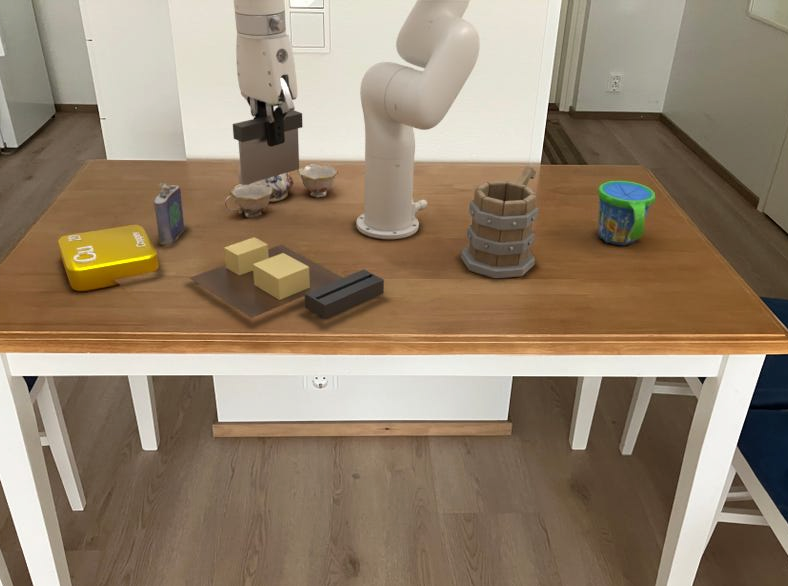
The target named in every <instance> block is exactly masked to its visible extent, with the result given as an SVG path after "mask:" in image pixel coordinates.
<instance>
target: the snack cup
mask: <svg viewBox="0 0 788 586" xmlns="http://www.w3.org/2000/svg"><path fill="white" fill-rule="evenodd" d="M597 194H598V195H597V196H598V198H599V199H598V200H599V202H598V221H597V223H598V224H597V235H598V237H599V238H600V239H601V240H603V241H604V242H605V243H609V244H613V245H618V246H626V245H631V244H633V243H635V242H636V241H637V240H638V239H640V238H642V237H643V235H644V233H645V220H646V217H647V215H648V211H649V209H650V207H651V206H652V205H653V204H654V202H655V201H656V193H655V191H654V190H653V189H651V188H650V187H648V186H647V185H644V184H641V183H638V182H634V181H628V180H610V181H609V180H608V181H606V182H603V183H601V184H600V186H598V188H597Z"/></svg>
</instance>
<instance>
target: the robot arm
mask: <svg viewBox="0 0 788 586" xmlns="http://www.w3.org/2000/svg"><path fill="white" fill-rule="evenodd" d="M470 1H471V0H417V1H415V4H414V5H413V7H412V9H411V10H410V12H409V13H408V15H407V17H406V19H405V21H404V22H403V24H402V26H401V28H400V30H399V31H398V35H397V37H396V41H395V48H396V52H397V53H398V56H399V57H400V58H401V59H402V60H403V61H404V62H405V63H408V64H411V65H412V66H416V67H418V68H422V69H423V71H422V70H419V69H416V68H413V67H410V66H407V65H403V64H400V63H396V62H392V61H382V62H377V63H375V64H373V65H372V66H370V67H369V68H368V69H366V72H365V73H364V75H363V77H362V78H361V82H360V93H359V95H360V103H361V109H362V114H363V115H362V116H363V122H364V140H365V142H364V197H363V199H364V200H363V202H364V204H363V205H364V206H363V207H364V208H363V209H364V213H362V214H360V215H358V217H357V218H356V221H355V222H356V228H357V230H358V231H359V232H360V233H361V234H363V235H365V236H367V237H370V238H374V239H378V240H379V239H380V240H398V239H399V240H400V239H405V238H408V237H411V236H412V235H414V234H416V233H417V232H418V230H419V227H420V222H419V219H418V218H417V217H416V214H417V213H418V211H422V210H425V209H427V207H428V202H427V200H426V199H424V198H423V199H419V200H417V201H416V202H415V201H414V199H413V192H414V173H415V172H414V171H415V156H416V155H415V152H416V136H415V131H414V129H417V130H422V131H423V130H424V131H427V130H431V129H433V128H435V127H436V126H437V125H439V124H440V123H441V122H442V121H443V119H444V118H445V117H446V115H447V114H448V112H449V110H450V109H451V107H452V106H453V104H454V102H455V101H456V100H457V97H458V96H459V94H460V92H461V91H462V89H463V88H464V86H465V84H466V82H467V80H468V78H469V77H470V75H471V74H472V71H473V70H474V68H475V66H476V63H477V61H478V58H479V53H480V47H481V46H480V45H481V43H480V35H479V32H478V30H477V28H476V27H475V26H474V24H472V23H471V22H470V21H468V20H466V19H464V18H463V16H464V13H466V11H467V9H468V7H469V4H470ZM233 8H234V19H235V29H236V43H235V46H236V47H235V48H236V49H235V51H236V52H235V55H236V73H237V81H238V87H239V91H240V95H241V96H242V97H243V98H244V99H245V101H246V102H247V104H248V106H249V108H250V116H252V117H253V119H256V118H261V117H265V116H268V122H266V132H267V144H268V146H270V147H272V146H276V145H279V144H282V143H284V142H285V136H284V122H283V120H284V119H285V118H286V114H287V113H288V112H291V111H293V110H295V109H296V107H295V105H294V101H295V100H296V99H297V98H298V84H297V83H298V82H297V73H296V72H297V71H296V64H295V58H294V53H293V47H292V43H291V40H290V35H288V34H287V24H286V12H285V11H286V8H285V0H233Z"/></svg>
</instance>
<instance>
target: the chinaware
mask: <svg viewBox="0 0 788 586" xmlns="http://www.w3.org/2000/svg"><path fill="white" fill-rule="evenodd" d="M297 173H298V175H299V176H300V178H301V180H302V184H303V185H304V187H305V188H306V189H307V190H308V191H310V194H309V195H310V196H312V197H315V198H321V197H326V195H327V191H328V190H330V189H331V188H332V186H333V184H334V181H335V178H336V176H337V175H338V174H339V170H336V168H335V167H334V166H333V165H332V164H323V165H322V166H321V165H320V164H318V163H309V164H306V166H305V167H299V169H298V170H297ZM237 179H238V184H236V185H234V187H233V189H232V190H230V191H229V194H230V195H228V196H227V197H226V198H225V200H224V206H225V209H226V210H227V211H229V212H234V211H236V210H239V211H238V214H239V215H241V214H243V213H244V215H245V217H246V218H254V217H257V216H261V215H263V214H262V213H263V211H264V210H265V209H266V208H267V207H268V205H269V203H275V202H279V201H280V202H281V201H283V200H285V199H286V198H288V196H289V191H290V190H291V188H292V187H293V186H294V180H293V179H294V178H293V177H292V176H291V174H290V172H287V173H284V174H281V175H277V176H274V177H270V178H267V179H263V180H260V181H256V182H253V183H250V184H246V185H242V181H241V167H240V164H239V165H238V171H237ZM229 199H231V201H233V200H235V204H236V205H237V207H235V208H233V209H231V208H229V207H228V205H227V202H228V200H229Z"/></svg>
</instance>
